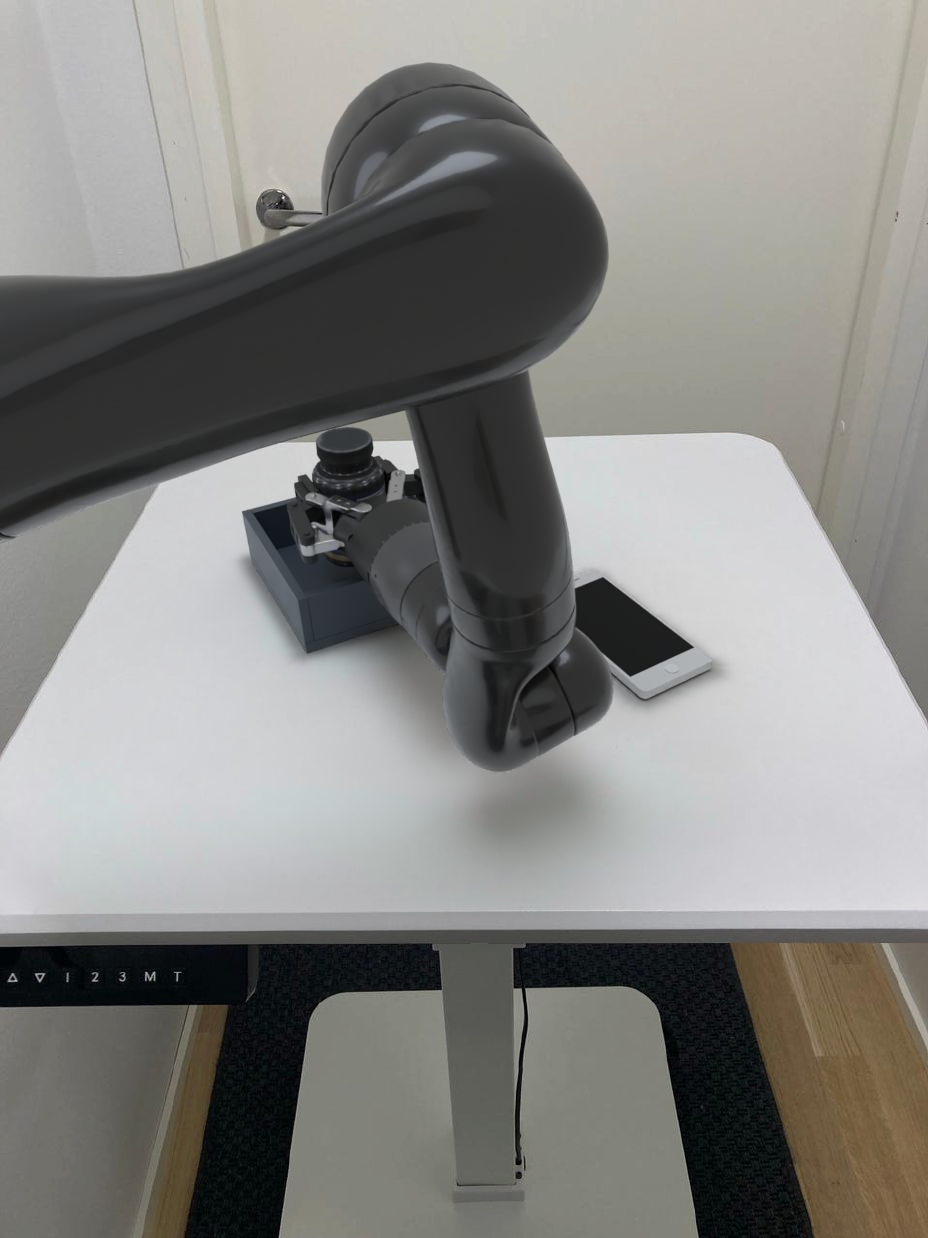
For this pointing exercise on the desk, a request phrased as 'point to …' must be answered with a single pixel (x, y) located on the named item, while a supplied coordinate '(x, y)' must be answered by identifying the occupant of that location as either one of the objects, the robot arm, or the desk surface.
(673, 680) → the smartphone
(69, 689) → the desk surface
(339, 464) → the pill bottle
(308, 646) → the open box
